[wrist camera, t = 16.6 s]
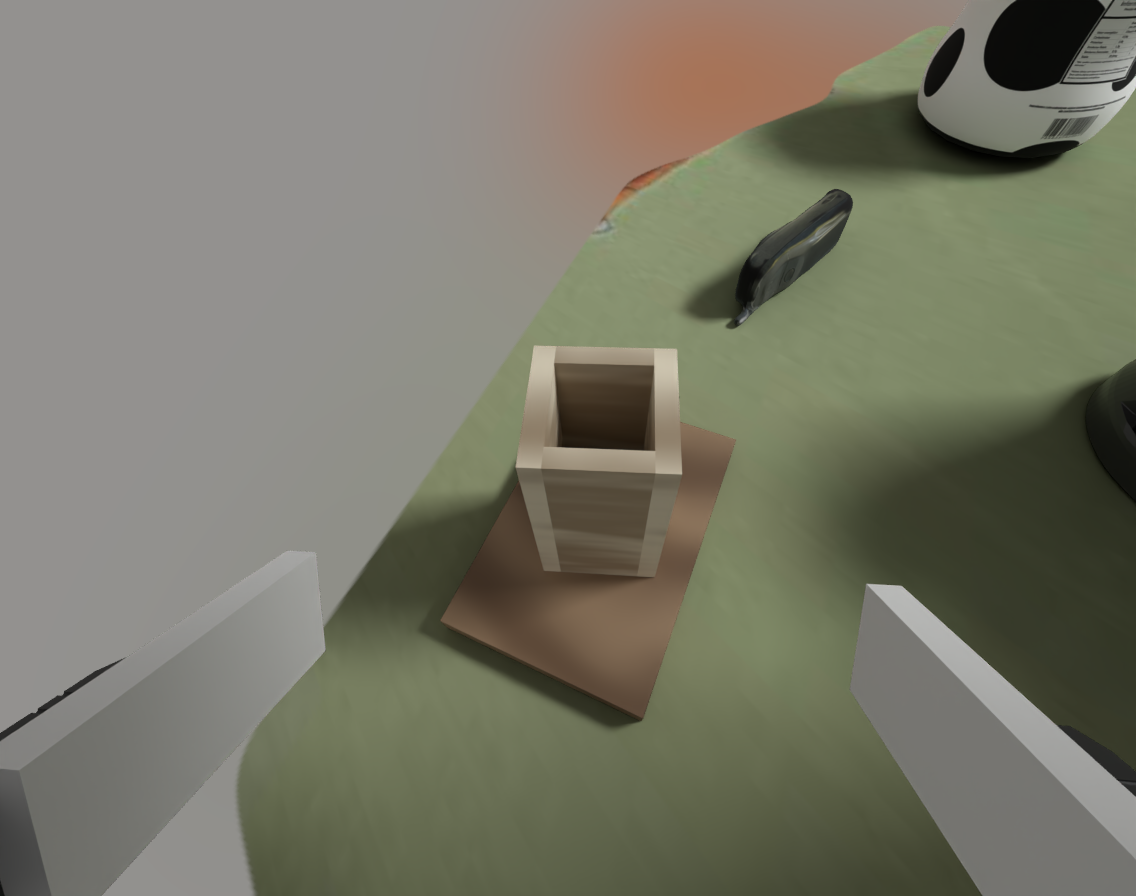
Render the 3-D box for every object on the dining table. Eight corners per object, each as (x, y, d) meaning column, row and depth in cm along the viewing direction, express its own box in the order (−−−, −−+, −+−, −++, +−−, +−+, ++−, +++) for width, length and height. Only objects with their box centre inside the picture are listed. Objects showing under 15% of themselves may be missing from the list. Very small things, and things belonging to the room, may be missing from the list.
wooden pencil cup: (554, 475, 34) (534, 345, 24) (653, 479, 33) (676, 349, 23) (543, 570, 30) (515, 467, 20) (654, 577, 30) (682, 474, 20)
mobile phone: (831, 179, 44) (727, 263, 39) (865, 192, 43) (762, 281, 37) (811, 232, 48) (714, 314, 43) (841, 245, 47) (745, 332, 42)
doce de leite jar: (953, 75, 62) (1067, -154, 47) (1116, 125, 54) (1315, -127, 39) (872, 132, 56) (972, -107, 41) (1041, 196, 49) (1241, -66, 34)
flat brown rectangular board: (571, 399, 39) (565, 311, 32) (731, 451, 36) (764, 367, 28) (446, 627, 30) (397, 579, 23) (641, 721, 27) (656, 700, 20)
